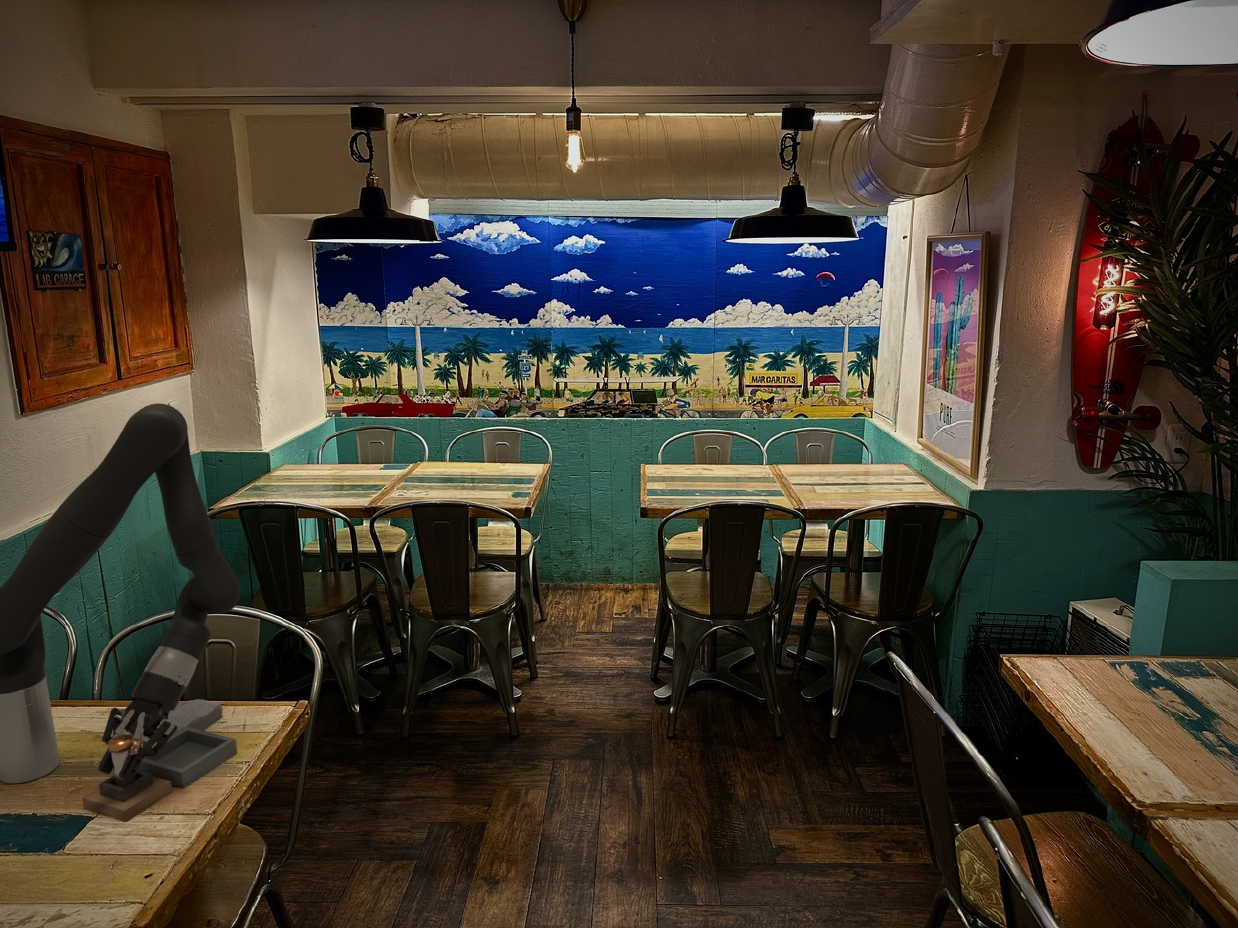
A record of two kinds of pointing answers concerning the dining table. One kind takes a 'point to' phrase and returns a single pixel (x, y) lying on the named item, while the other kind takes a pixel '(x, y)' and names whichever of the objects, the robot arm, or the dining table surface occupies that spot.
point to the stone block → (195, 714)
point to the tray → (189, 756)
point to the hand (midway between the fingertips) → (113, 774)
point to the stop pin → (121, 756)
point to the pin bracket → (127, 796)
